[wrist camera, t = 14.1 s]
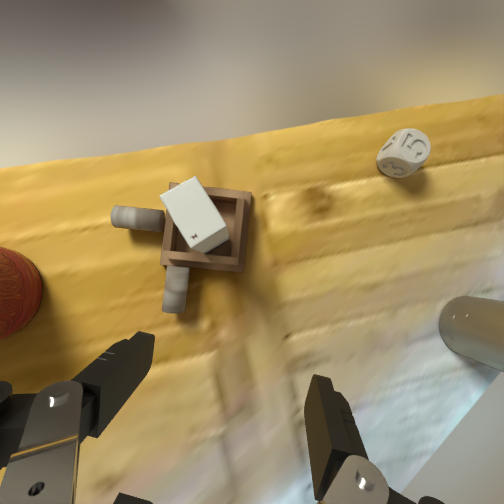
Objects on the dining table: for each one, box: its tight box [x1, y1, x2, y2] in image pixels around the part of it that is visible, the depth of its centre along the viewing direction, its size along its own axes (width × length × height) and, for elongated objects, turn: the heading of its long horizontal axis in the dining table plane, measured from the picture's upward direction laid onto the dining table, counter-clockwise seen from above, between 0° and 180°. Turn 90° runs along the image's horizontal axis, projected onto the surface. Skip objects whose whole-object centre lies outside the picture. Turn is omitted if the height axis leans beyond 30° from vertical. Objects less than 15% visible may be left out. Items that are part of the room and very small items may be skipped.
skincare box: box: [160, 176, 230, 254], centre depth 29 cm, size 6×4×12 cm
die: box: [376, 129, 431, 178], centre depth 36 cm, size 5×5×5 cm
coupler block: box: [111, 182, 252, 313], centre depth 33 cm, size 18×18×4 cm
